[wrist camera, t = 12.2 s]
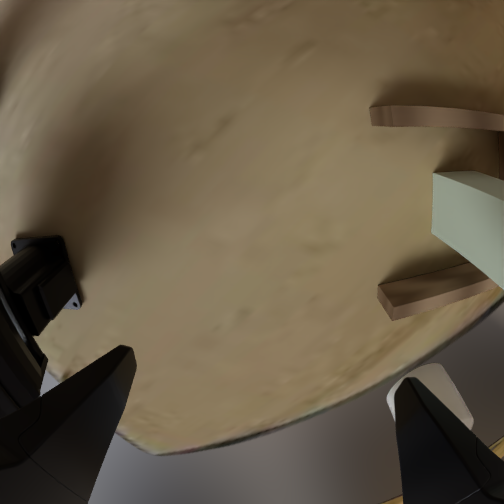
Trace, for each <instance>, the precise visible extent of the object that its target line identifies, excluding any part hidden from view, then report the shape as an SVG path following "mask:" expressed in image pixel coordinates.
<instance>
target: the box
mask: <svg viewBox="0 0 504 504" xmlns="http://www.w3.org/2000/svg"><path fill="white" fill-rule="evenodd" d="M369 109H370V115H371V122H372V126H388V127H408V126H426V127H458V128H474V129H486V130H496V131H498V135H499V179H500V180H503V181H504V115H501V114H495V113H488V112H482V111H474V110H466V109H456V108H445V107H430V106H405V105H389V106H380V107H371V108H369ZM498 286H499V285H497V284H496V283H495V282H494V281H493V280H492V279H491V278H489V277H488V276H487V275H486V274H485V273H483V272H482V271H481V270H480V269H478V268H477V267H476V266H475V265H474V264H472V263H471V262H470V263H466V264H463V265H459V266H455V267H452V268H448V269H444V270H440V271H436V272H432V273H429V274H425V275H420V276H416V277H412V278H408V279H404V280H400V281H395V282H391V283H386V284H382V285H378V297H377V298H378V300H379V301H380V303H381V304H382V306H383V308H384V309H385V311H386V312H387V314H388V315H389V317H390V318H391V320H392V321H394V320H398V319H401V318H405V317H409V316H412V315H416V314H419V313H422V312H426V311H429V310H432V309H436V308H439V307H442V306H445V305H448V304H451V303H454V302H457V301H460V300H463V299H466V298H469V297H472V296H474V295H477V294H480V293H483V292H485V291H488V290H490V289H493V288H496V287H498Z"/></svg>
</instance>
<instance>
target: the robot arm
mask: <svg viewBox="0 0 504 504" xmlns="http://www.w3.org/2000/svg"><path fill="white" fill-rule="evenodd" d="M57 241H58V242H59V244H58V243H57ZM11 247H12V251H13V254H14V255H13V256H12V257H11V258H9V259H8V260H7V261H6V262H4V263H3V264H2V265H0V504H88V501H89V498H90V496H91V493H92V490H93V487H94V485H95V482H96V479H97V476H98V474H99V471H100V468H101V466H102V463H103V461H104V458H105V455H106V453H107V450H108V448H109V445H110V443H111V440H112V438H113V435H114V433H115V431H116V428H117V426H118V423H119V421H120V419H121V416H122V414H123V411H124V409H125V406H126V403H127V399H128V396H129V392H130V389H131V385H132V382H133V379H134V376H135V372H136V368H137V364H136V359H135V355H134V351H133V349H132V347H129V346H125V345H119V346H117V347H116V348H114V349H113V350H111V351H110V352H108V353H107V354H105V355H104V356H102V357H100V358H99V359H97V360H96V361H94V362H93V363H91V364H90V365H88V366H87V367H85V368H83V369H82V370H80V371H79V372H77V373H76V374H74V375H73V376H71V377H70V378H68V379H66V380H65V381H63V382H62V383H60V384H59V385H57V386H56V387H54V388H52V389H51V390H49V391H48V392H46V393H45V394H43V395H42V397H41V396H40V389H41V385H42V381H43V377H44V374H45V370H46V366H47V363H48V358H47V357H46V355H45V354H44V353H43V352H42V351H41V349H40V348H39V346H38V344H37V343H36V341H35V339H34V338H33V337H34V336H39V335H40V334H41V332H42V331H43V330H44V328H45V327H46V326H47V325H48V323H49V322H50V321H51V320H54V319H55V317H56V316H57V315H58V314H59V312H60V311H61V310H62V309H63V308H64V309H75V310H78V309H80V308H81V306H82V301H81V298H80V295H79V292H78V289H77V286H76V283H75V280H74V277H73V273H72V270H71V266H70V263H69V259H68V255H67V252H66V248H65V244H64V240H63V238H62V237H61V236H59V235H55V236H42V237H29V238H18V239H14V240H12V241H11ZM75 302H76V303H77V304H76V303H75ZM394 407H395V426H396V438H397V445H398V453H399V461H400V470H401V480H402V492H403V504H504V461H503V460H501V459H500V458H499V457H498V456H497V455H496V454H495V453H493V452H492V451H491V450H490V449H489V448H488V447H487V446H486V445H485V444H484V443H483V442H482V441H481V440H480V439H479V438H478V437H476V435H475V434H473V432H472V431H471V430H470V429H469V428H468V427H467V426H466V425H465V424H464V423H463V422H462V421H461V420H460V419H459V418H458V417H457V416H456V415H455V414H454V413H453V412H452V411H451V410H450V409H449V408H448V407H446V406H445V405H444V404H443V403H442V402H441V401H440V400H439V399H438V398H437V397H436V396H435V395H434V394H433V393H432V392H431V391H430V390H429V389H428V388H427V387H426V386H425V385H424V384H423V383H422V382H421V381H420V380H419V379H418V378H416V377H406V378H404V379H403V381H402V382H401V384H400V385H399V387H398V388H397V390H396V391H395V394H394Z"/></svg>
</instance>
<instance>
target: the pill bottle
mask: <svg viewBox="0 0 504 504" xmlns="http://www.w3.org/2000/svg"><path fill="white" fill-rule="evenodd" d="M406 377H416V378H418V379H419V380H420V381H421V382H422V383H423V384H424V385H425V386H426V387H427V388H428V389H429V390H430V391H431V392H432V393H433V394H434V395H435V396H436V397H437V398H438V399H439V400H440V401H441V402H442V403H443V404H444V405H445V406H446V407H448V408H449V409H450V410H451V411H452V412H453V413H454V414H455V415H456V416H457V417H458V418H459V419H460V420H461V421H462V422H463V423H464V424H465V425H466V426H467V427H468V428H469V429H470V430H471V428H472V425H473V422H474V420H473V417H472V415H471V413H470V412H469V410H468V408H467V406H466V404H465V403H464V401H463V399H462V397H461V396H460V394H459V392H458V390H457V389H456V387H455V385H454V384H453V382H452V380H451V379H450V377H449V375H448V374H447V373H446V371H445V369H444V367H443V366H442V365H441V364H439V363H430V364H426V365H422V366H420V367H418V368H415V369H414V370H412V371H410V372H409V373H407V374H406V375H404V376H403V377H402V378H401V379H400V380H398V381H397V382H396V383H395V384H394V386H393V387H392V388H391V389H390V391H389V393H388V396H387V402H388V405H389V407H390V410H391V412H392V415H393V418H394V420H395V407H394V394H395V391H396V390H397V388H398V387H399V385H400V384H401V382H402V381H403V379H404V378H406Z"/></svg>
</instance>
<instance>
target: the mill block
mask: <svg viewBox="0 0 504 504" xmlns="http://www.w3.org/2000/svg"><path fill="white" fill-rule="evenodd" d="M431 233H432V234H434V235H435V236H437V237H438V238H439V239H441V240H442V241H443V242H445V243H446V244H448V245H449V246H450V247H452V248H453V249H454V250H456V251H457V252H458V253H460V254H461V255H462V256H463V257H465V258H466V259H467V260H469V261H470V262H471V263H472V264H474V265H475V266H476V267H477V268H478V269H480V270H481V271H482V272H483V273H485V274H486V275H487V276H488V277H489V278H491V279H492V280H493V281H494V282H495V283H496V284H497V285H499V286H500V287H501V288H502V289H503V290H504V181H503V180H500V179H497V178H495V177H492V176H489V175H486V174H483V173H480V172H477V171H455V172H438V173H433V211H432V230H431Z"/></svg>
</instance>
